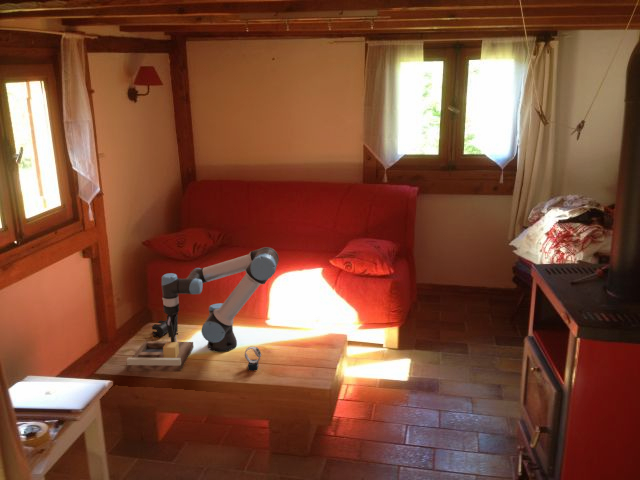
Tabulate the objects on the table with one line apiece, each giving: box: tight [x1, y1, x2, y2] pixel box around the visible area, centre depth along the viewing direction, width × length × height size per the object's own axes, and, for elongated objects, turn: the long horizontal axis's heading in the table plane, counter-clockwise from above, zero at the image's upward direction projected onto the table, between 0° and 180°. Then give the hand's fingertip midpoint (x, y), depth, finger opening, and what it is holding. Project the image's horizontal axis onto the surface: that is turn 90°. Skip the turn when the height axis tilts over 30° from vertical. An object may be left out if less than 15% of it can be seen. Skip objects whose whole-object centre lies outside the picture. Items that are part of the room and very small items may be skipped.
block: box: [163, 341, 179, 358], centre depth 295 cm, size 6×6×6 cm
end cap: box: [151, 319, 168, 338], centre depth 327 cm, size 10×7×7 cm
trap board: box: [126, 340, 194, 372], centre depth 298 cm, size 26×26×6 cm
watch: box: [244, 346, 262, 372], centre depth 287 cm, size 6×8×11 cm
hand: (174, 347), depth 300 cm, fingers closed
